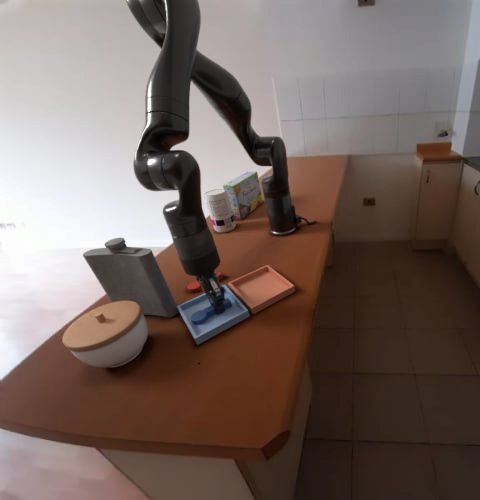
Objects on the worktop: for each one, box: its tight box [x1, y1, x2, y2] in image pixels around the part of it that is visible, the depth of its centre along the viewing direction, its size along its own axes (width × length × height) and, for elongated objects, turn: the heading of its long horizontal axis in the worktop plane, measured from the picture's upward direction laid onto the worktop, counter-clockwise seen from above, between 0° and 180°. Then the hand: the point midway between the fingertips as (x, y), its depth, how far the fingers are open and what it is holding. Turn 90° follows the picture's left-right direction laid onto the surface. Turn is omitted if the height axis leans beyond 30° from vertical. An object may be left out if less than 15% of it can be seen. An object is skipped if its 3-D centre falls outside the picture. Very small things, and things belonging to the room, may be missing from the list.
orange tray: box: [227, 264, 296, 315], centre depth 74 cm, size 12×14×2 cm
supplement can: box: [204, 188, 237, 234], centre depth 106 cm, size 8×8×15 cm
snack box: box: [222, 171, 264, 221], centre depth 121 cm, size 21×6×15 cm, turn 168°
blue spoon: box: [191, 298, 232, 325], centre depth 66 cm, size 9×4×2 cm, turn 131°
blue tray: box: [177, 284, 251, 345], centre depth 67 cm, size 12×14×2 cm
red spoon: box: [187, 271, 224, 294], centre depth 78 cm, size 9×4×2 cm, turn 131°
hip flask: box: [82, 237, 180, 318], centre depth 65 cm, size 16×4×20 cm, turn 83°
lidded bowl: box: [61, 301, 149, 368], centre depth 56 cm, size 13×13×11 cm
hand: (219, 309), depth 68 cm, fingers closed on blue spoon, 2 cm apart
